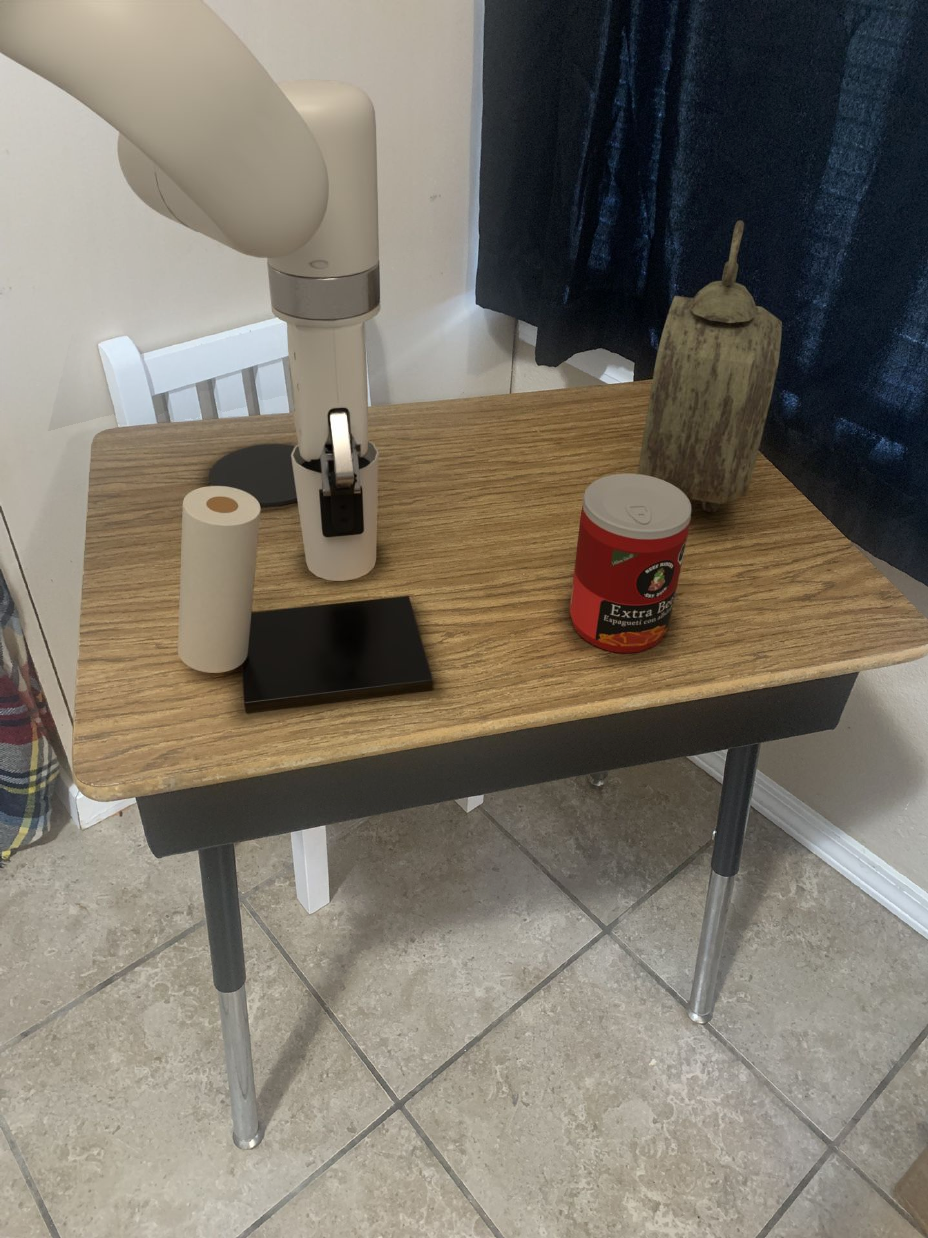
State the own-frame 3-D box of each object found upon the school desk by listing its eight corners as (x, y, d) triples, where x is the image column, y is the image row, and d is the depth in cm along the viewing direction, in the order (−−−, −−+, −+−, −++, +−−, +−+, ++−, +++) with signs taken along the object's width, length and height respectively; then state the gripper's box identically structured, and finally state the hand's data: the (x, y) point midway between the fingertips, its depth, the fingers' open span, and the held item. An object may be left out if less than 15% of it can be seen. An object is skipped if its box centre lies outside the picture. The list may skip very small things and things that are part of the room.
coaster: (210, 511, 86) (209, 507, 86) (208, 452, 95) (208, 448, 95) (334, 501, 88) (334, 497, 88) (322, 443, 97) (322, 439, 97)
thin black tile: (245, 713, 67) (243, 703, 66) (240, 623, 74) (238, 613, 74) (433, 690, 69) (433, 679, 68) (409, 605, 77) (409, 595, 76)
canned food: (598, 665, 72) (617, 539, 65) (550, 603, 77) (563, 481, 71) (688, 642, 74) (715, 519, 67) (635, 584, 80) (655, 464, 73)
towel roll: (249, 674, 68) (177, 673, 66) (246, 631, 72) (177, 629, 70) (262, 526, 61) (182, 522, 59) (258, 487, 65) (183, 482, 63)
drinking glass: (300, 586, 78) (290, 476, 72) (300, 540, 83) (291, 434, 77) (384, 582, 79) (381, 473, 73) (379, 536, 84) (376, 431, 78)
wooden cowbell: (648, 462, 96) (693, 193, 80) (743, 478, 94) (807, 205, 78) (626, 540, 85) (673, 246, 69) (732, 559, 83) (805, 261, 67)
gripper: (262, 248, 73) (283, 463, 84) (278, 339, 60) (300, 578, 71) (362, 244, 74) (370, 456, 85) (399, 332, 61) (402, 568, 72)
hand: (338, 509), depth 78 cm, fingers closed on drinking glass, 5 cm apart
